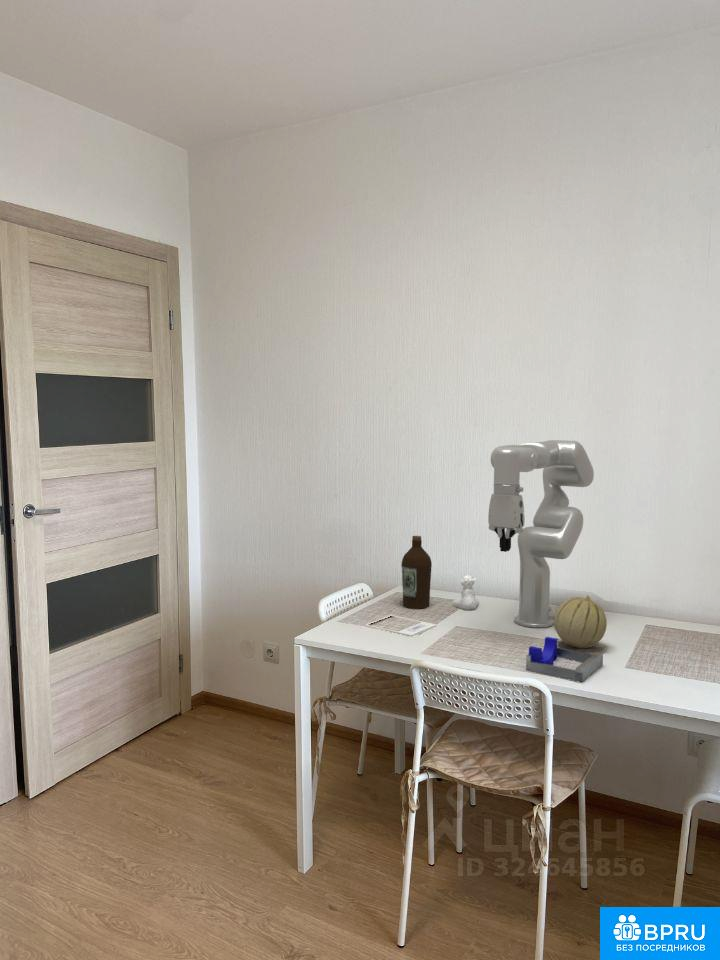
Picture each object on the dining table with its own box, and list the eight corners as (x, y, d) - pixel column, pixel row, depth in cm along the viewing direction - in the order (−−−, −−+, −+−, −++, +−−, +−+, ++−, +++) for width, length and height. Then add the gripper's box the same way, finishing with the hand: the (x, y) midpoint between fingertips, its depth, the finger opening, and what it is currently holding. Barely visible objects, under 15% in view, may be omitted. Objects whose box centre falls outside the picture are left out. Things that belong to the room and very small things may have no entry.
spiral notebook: (411, 634, 222) (364, 624, 233) (411, 638, 223) (364, 627, 234) (436, 623, 234) (391, 614, 245) (436, 627, 234) (391, 617, 245)
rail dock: (550, 654, 206) (550, 640, 206) (602, 665, 197) (603, 651, 197) (525, 670, 194) (526, 655, 193) (580, 682, 185) (581, 667, 184)
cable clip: (544, 672, 192) (544, 650, 192) (528, 669, 195) (528, 647, 195) (562, 660, 202) (562, 639, 201) (546, 657, 205) (547, 636, 204)
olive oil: (415, 600, 266) (416, 532, 264) (437, 606, 258) (438, 536, 256) (395, 605, 259) (395, 536, 257) (417, 611, 251) (417, 539, 249)
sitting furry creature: (478, 604, 261) (478, 571, 260) (484, 611, 252) (484, 576, 251) (452, 605, 260) (452, 572, 259) (457, 611, 252) (457, 577, 250)
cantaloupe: (544, 647, 213) (545, 596, 212) (567, 635, 224) (568, 588, 223) (592, 658, 203) (594, 605, 202) (614, 646, 214) (615, 596, 213)
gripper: (535, 490, 215) (533, 551, 217) (489, 487, 224) (488, 546, 226) (524, 492, 209) (522, 555, 211) (477, 489, 218) (476, 549, 220)
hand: (505, 550), depth 218 cm, fingers closed
